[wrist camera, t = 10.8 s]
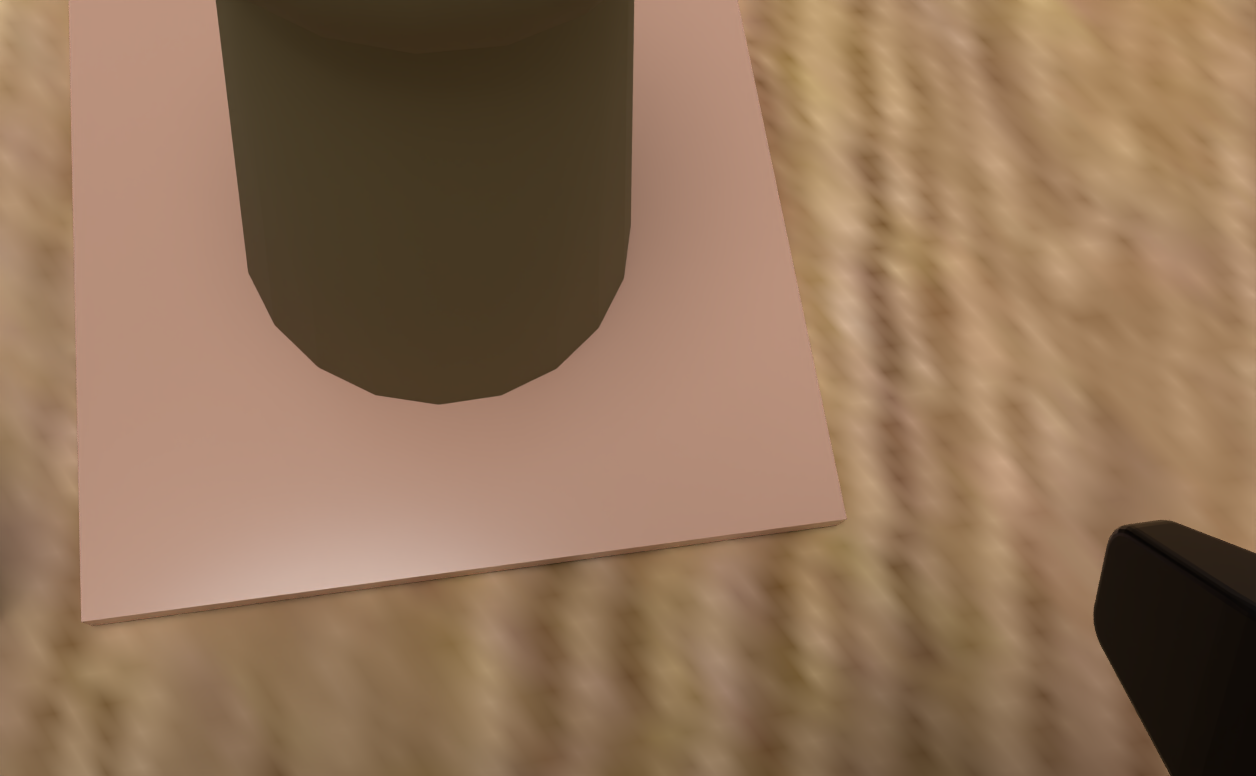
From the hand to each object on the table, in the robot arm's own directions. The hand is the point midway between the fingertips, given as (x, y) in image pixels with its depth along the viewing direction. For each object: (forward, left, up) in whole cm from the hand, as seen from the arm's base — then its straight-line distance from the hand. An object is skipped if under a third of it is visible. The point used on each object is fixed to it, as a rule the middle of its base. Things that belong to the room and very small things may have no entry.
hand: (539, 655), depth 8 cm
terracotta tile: (+5, -5, -9) cm, 11 cm away
